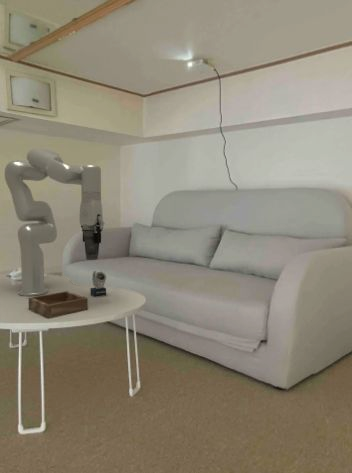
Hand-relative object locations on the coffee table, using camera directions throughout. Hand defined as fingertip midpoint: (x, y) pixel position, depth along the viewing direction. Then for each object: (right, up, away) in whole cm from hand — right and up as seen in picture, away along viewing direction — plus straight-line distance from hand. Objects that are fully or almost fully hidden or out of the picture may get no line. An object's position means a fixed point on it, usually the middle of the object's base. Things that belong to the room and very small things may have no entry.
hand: (91, 242), depth 147 cm
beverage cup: (0, -7, +1) cm, 7 cm away
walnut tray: (-12, -26, -4) cm, 29 cm away
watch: (-1, -24, +19) cm, 31 cm away
